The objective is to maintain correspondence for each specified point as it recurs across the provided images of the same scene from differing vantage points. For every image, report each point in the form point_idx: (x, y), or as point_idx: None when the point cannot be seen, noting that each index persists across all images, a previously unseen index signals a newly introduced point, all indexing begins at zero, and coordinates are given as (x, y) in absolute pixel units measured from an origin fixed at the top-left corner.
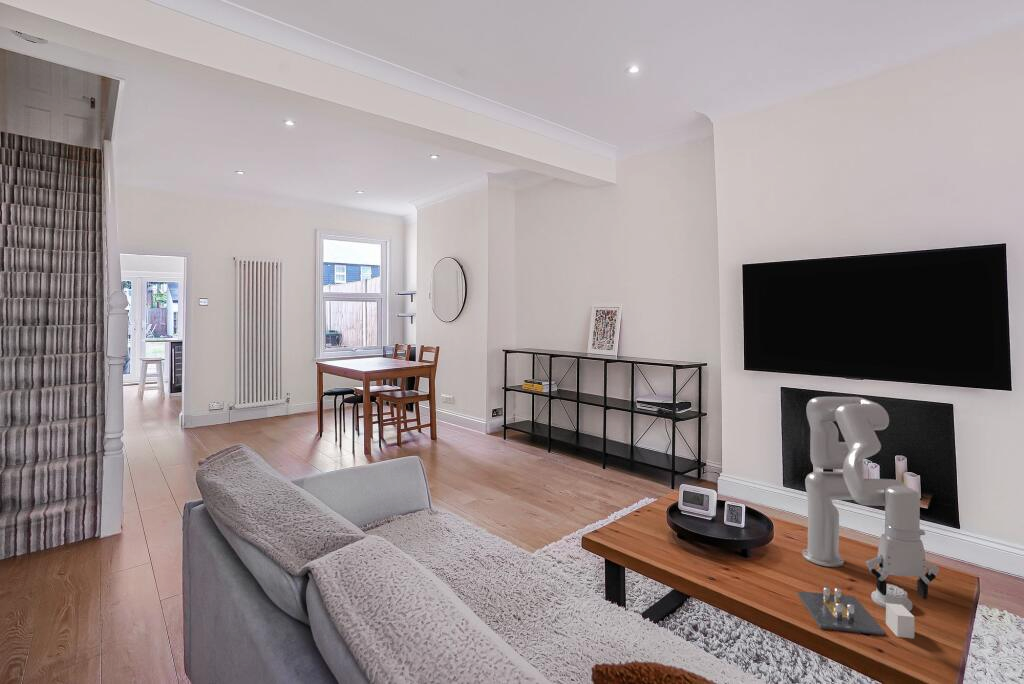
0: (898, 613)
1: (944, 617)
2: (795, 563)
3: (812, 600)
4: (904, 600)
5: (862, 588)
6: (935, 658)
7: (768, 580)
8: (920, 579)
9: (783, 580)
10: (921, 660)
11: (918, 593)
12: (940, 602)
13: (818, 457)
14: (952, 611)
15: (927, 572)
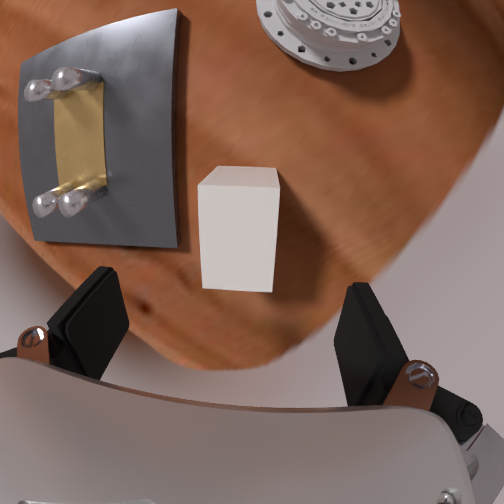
0: (213, 273)
1: (453, 115)
2: None
3: (34, 103)
4: (367, 45)
5: None
6: (271, 326)
7: (4, 27)
8: (379, 398)
9: (31, 3)
10: (229, 335)
11: (347, 299)
12: (480, 42)
13: None
14: (486, 89)
15: (459, 430)
